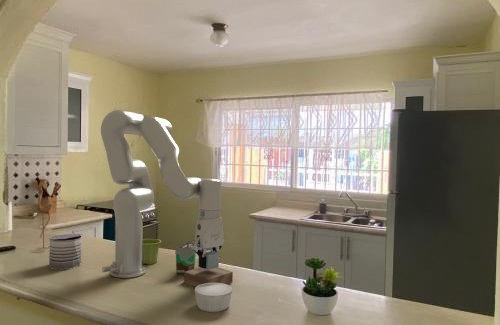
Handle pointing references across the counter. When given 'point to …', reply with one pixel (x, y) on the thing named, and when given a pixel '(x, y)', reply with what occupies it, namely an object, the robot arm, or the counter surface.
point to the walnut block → (207, 276)
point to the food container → (185, 258)
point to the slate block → (211, 259)
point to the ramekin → (213, 296)
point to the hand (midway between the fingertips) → (208, 265)
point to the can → (65, 251)
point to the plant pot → (150, 250)
